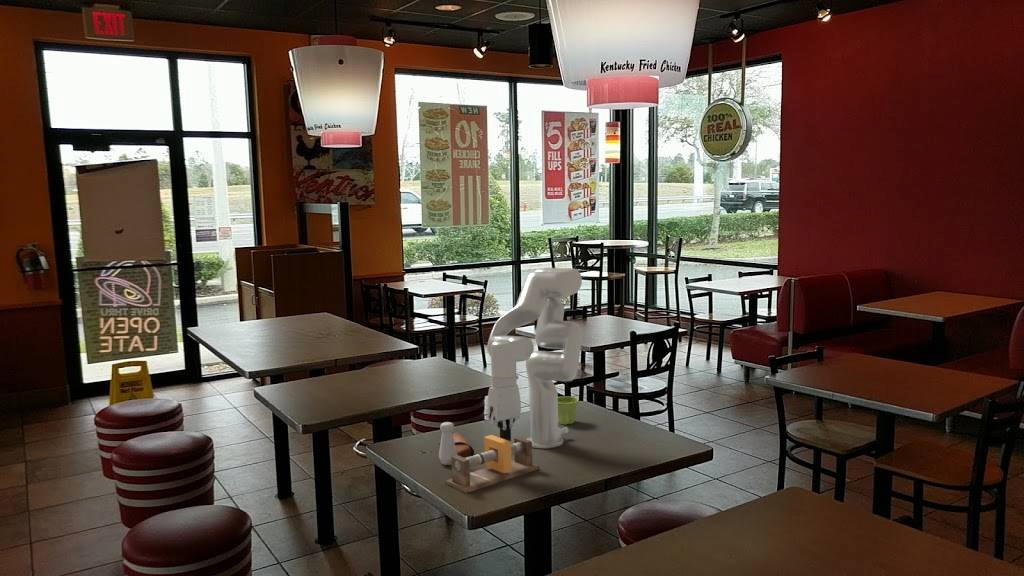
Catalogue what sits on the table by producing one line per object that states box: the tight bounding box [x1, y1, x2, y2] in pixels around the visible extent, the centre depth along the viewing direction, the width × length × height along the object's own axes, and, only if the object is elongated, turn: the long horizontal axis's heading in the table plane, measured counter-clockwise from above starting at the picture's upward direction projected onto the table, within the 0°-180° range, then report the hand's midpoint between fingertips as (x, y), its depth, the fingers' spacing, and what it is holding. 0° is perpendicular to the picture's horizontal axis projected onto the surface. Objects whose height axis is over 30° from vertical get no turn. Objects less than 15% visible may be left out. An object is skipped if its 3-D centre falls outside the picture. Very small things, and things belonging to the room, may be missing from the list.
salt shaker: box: [438, 421, 457, 466], centre depth 235 cm, size 6×6×13 cm
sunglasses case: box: [438, 430, 475, 457], centre depth 249 cm, size 18×7×7 cm
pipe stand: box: [445, 436, 540, 494], centre depth 223 cm, size 28×10×8 cm, turn 130°
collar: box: [483, 434, 512, 473], centre depth 224 cm, size 3×9×9 cm, turn 41°
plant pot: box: [558, 396, 579, 426], centre depth 276 cm, size 9×9×9 cm
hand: (505, 441), depth 225 cm, fingers closed
